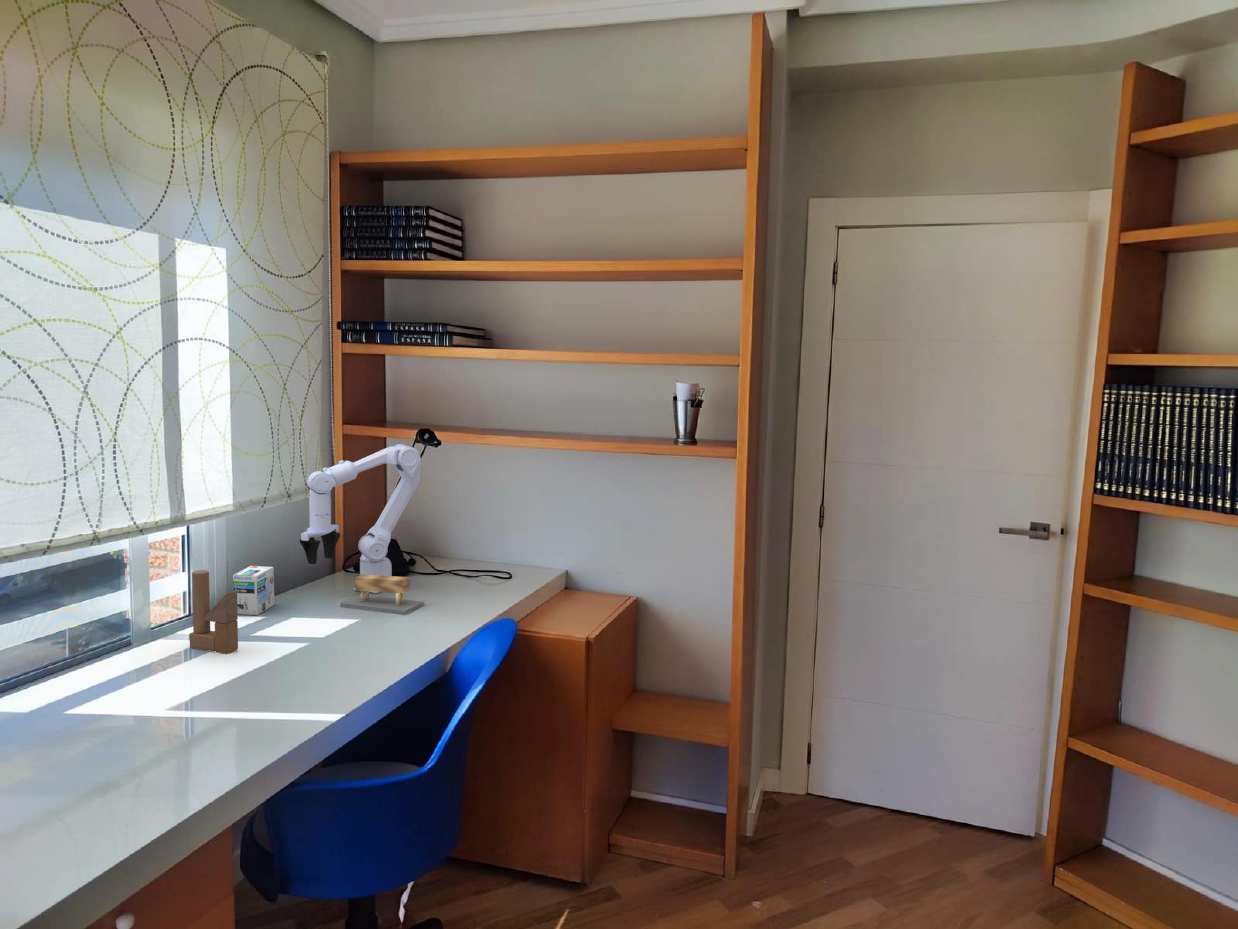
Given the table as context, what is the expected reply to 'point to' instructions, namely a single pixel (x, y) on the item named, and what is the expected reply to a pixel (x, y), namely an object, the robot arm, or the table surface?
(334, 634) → the table surface
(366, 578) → the light wood bar
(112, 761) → the table surface
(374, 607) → the peg stand
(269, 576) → the light bulb box
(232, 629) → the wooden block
